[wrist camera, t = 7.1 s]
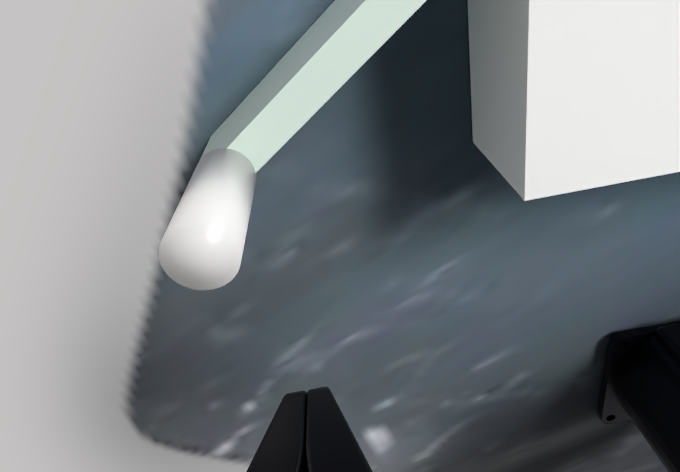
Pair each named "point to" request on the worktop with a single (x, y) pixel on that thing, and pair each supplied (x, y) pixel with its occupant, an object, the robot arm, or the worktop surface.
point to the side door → (268, 137)
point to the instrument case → (575, 91)
